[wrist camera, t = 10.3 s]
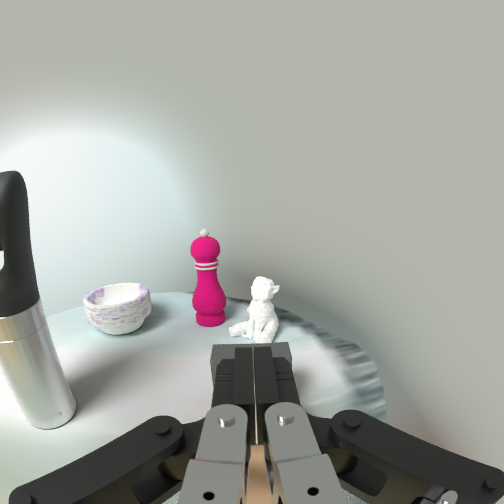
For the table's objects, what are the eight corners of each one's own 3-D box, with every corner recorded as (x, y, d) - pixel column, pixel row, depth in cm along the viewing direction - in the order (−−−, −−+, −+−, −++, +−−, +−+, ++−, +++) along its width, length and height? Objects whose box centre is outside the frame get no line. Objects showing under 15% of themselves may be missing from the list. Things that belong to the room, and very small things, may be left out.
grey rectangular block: (289, 399, 36) (292, 358, 34) (215, 401, 36) (210, 361, 34) (286, 381, 40) (287, 341, 38) (217, 384, 40) (213, 344, 38)
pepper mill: (225, 328, 59) (218, 231, 55) (191, 327, 60) (181, 232, 55) (229, 313, 66) (224, 225, 62) (198, 313, 67) (191, 226, 62)
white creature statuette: (226, 335, 57) (223, 278, 54) (255, 320, 63) (254, 267, 60) (263, 352, 50) (263, 289, 48) (292, 333, 57) (293, 276, 54)
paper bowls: (95, 314, 64) (89, 284, 63) (153, 308, 69) (149, 278, 67) (85, 345, 50) (75, 309, 48) (155, 338, 55) (149, 302, 53)
